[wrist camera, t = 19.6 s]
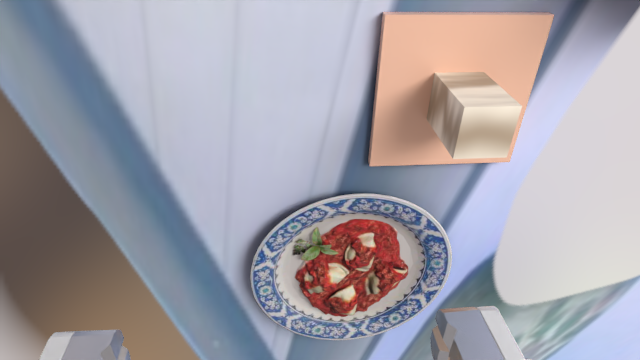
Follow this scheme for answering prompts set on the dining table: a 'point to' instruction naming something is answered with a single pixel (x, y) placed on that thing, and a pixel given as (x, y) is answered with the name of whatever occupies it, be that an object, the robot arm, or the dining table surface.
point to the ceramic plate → (351, 266)
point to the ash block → (472, 115)
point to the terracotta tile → (446, 56)
